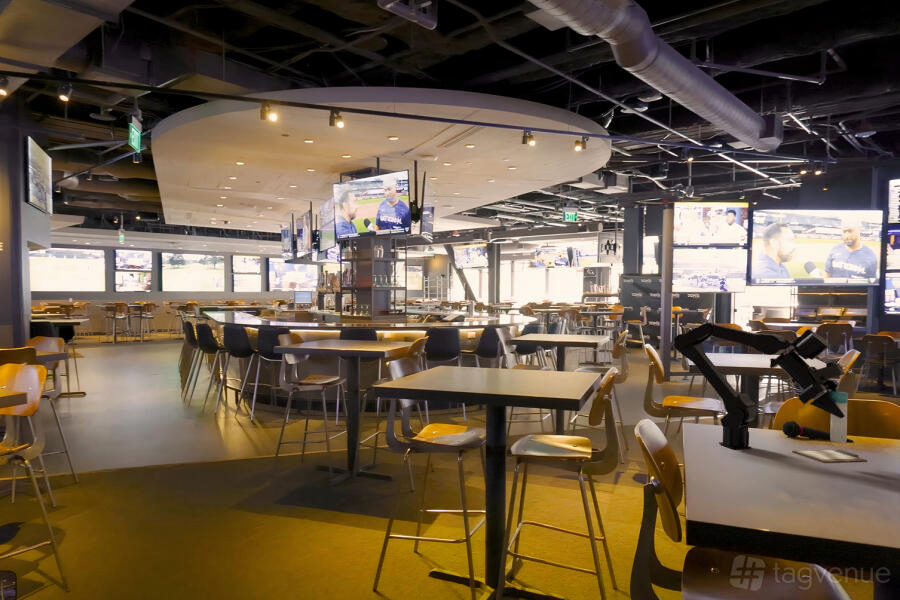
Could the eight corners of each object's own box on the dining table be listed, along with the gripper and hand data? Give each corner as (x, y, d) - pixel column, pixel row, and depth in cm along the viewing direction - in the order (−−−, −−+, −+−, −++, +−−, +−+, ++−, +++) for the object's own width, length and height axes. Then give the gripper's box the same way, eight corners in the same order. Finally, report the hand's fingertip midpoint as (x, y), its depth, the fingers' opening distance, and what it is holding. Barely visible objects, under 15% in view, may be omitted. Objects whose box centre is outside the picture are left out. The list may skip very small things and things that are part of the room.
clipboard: (823, 462, 155) (823, 458, 155) (792, 452, 166) (792, 448, 166) (866, 461, 158) (866, 457, 158) (833, 451, 169) (833, 447, 169)
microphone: (849, 451, 183) (779, 437, 189) (849, 433, 185) (781, 420, 191) (856, 449, 178) (784, 435, 184) (856, 431, 180) (785, 417, 186)
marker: (838, 443, 150) (840, 393, 150) (826, 439, 153) (827, 391, 154) (850, 442, 151) (851, 393, 151) (837, 439, 154) (838, 391, 154)
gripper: (813, 353, 149) (864, 401, 141) (831, 350, 162) (878, 394, 154) (779, 379, 154) (826, 427, 146) (799, 375, 167) (843, 419, 159)
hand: (845, 416), depth 151 cm, fingers closed on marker, 4 cm apart
